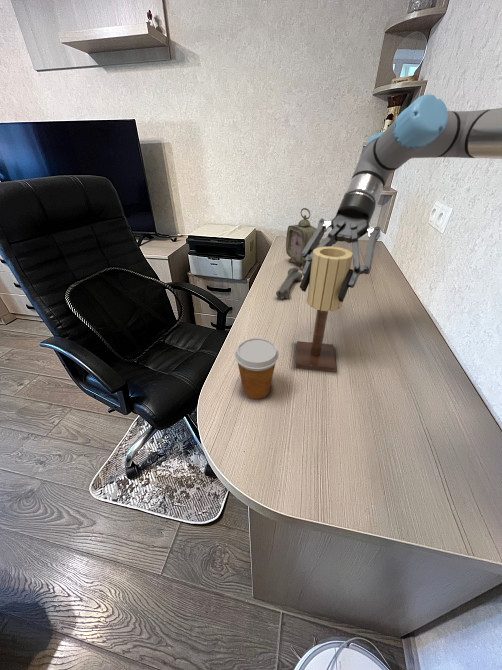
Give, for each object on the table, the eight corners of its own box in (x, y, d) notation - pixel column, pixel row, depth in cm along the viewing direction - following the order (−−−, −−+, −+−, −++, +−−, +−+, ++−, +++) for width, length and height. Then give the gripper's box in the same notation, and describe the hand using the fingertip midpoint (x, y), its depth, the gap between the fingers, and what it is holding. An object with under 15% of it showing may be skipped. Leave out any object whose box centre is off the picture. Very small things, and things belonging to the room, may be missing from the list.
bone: (288, 277, 120) (288, 264, 116) (303, 279, 118) (304, 265, 114) (272, 299, 103) (273, 284, 100) (290, 302, 101) (291, 287, 98)
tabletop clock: (284, 261, 136) (288, 206, 121) (300, 258, 139) (305, 204, 124) (301, 271, 125) (307, 212, 110) (317, 268, 128) (325, 210, 114)
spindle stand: (335, 372, 71) (346, 322, 62) (295, 368, 72) (301, 319, 63) (332, 348, 79) (341, 301, 70) (296, 345, 80) (302, 298, 71)
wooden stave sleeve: (343, 312, 61) (355, 260, 55) (306, 309, 63) (313, 257, 56) (340, 296, 68) (349, 247, 61) (306, 293, 69) (313, 245, 62)
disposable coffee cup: (266, 371, 71) (267, 332, 64) (283, 397, 64) (286, 357, 57) (231, 381, 68) (228, 341, 61) (244, 409, 61) (243, 368, 54)
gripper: (407, 219, 61) (369, 313, 59) (318, 208, 71) (283, 289, 69) (411, 195, 54) (368, 301, 53) (312, 187, 64) (274, 276, 62)
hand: (320, 294), depth 61 cm, fingers closed on wooden stave sleeve, 8 cm apart
